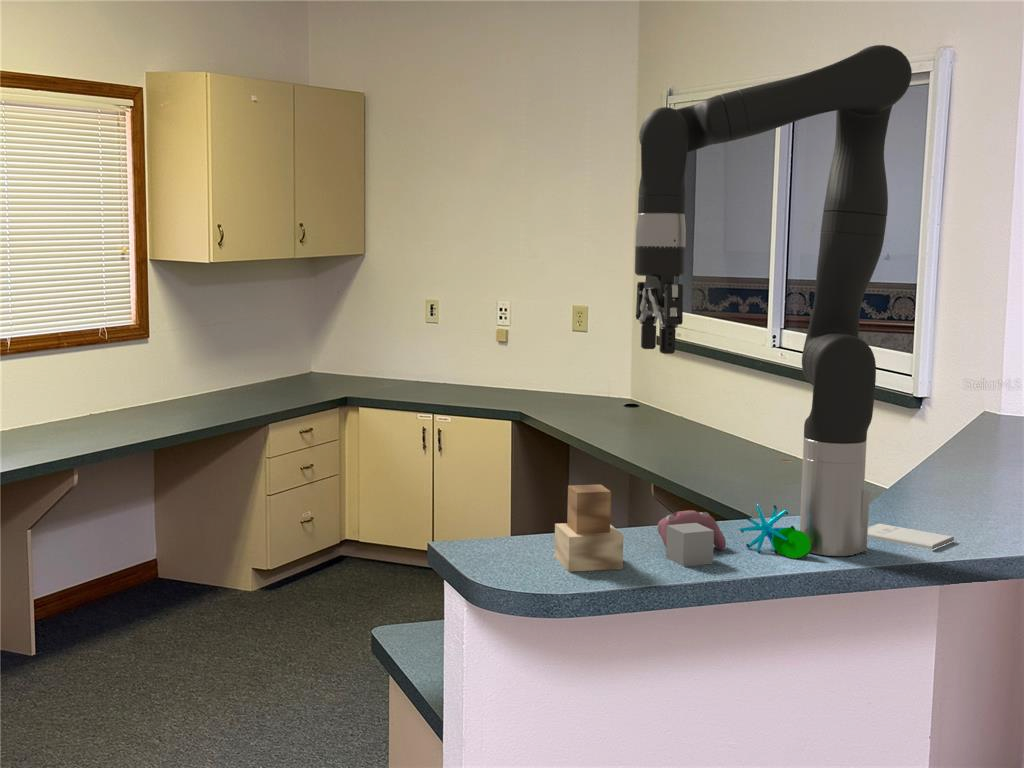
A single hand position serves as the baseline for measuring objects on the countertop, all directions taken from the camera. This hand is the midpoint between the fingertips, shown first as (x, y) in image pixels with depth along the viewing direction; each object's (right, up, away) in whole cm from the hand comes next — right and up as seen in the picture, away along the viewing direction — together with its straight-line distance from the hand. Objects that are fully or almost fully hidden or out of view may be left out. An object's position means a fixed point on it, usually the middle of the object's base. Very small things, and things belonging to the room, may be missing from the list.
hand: (657, 351), depth 170 cm
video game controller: (+5, -31, 0) cm, 31 cm away
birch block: (-11, -31, -8) cm, 34 cm away
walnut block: (-11, -26, -9) cm, 30 cm away
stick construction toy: (+19, -31, 0) cm, 36 cm away
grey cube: (+4, -31, -6) cm, 32 cm away
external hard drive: (+41, -31, +8) cm, 52 cm away
